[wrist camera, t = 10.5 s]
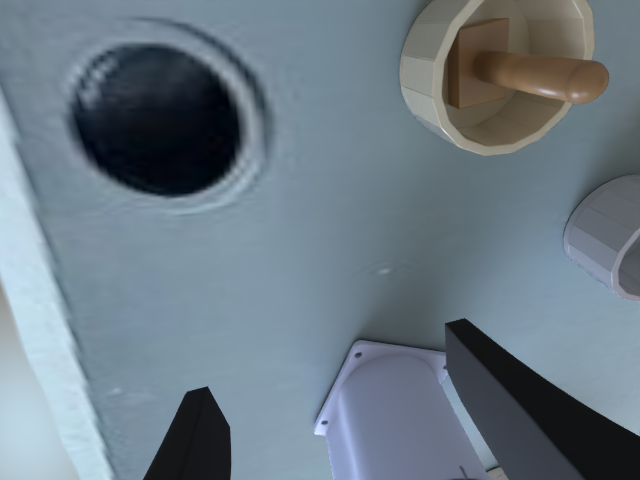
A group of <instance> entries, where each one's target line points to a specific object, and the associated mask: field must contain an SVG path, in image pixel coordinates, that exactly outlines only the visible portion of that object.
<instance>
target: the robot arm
mask: <svg viewBox="0 0 640 480" xmlns="http://www.w3.org/2000/svg"><path fill="white" fill-rule="evenodd" d="M445 343H446V352H440V351H433V350H426V349H419V348H412V347H406V346H399V345H392V344H385V343H378V342H371V341H365V340H359V341H357V342H355V343H354V344H353V346H352V348H351V350H350V352H349V354H348V356H347V359H346V361H345V363H344V365H343V367H342V369H341V371H340V373H339V375H338V377H337V379H336V381H335V383H334V385H333V387H332V389H331V392H330V394H329V396H328V398H327V400H326V402H325V404H324V406H323V408H322V410H321V412H320V414H319V416H318V418H317V420H316V423H315V425H314V427H313V429H314V433H315V434H317V435H326V440H327V445H328V451H329V456H330V462H331V468H332V473H333V479H334V480H495V479H493V478H491V479H490V478H489V476H488V474H487V472H486V470H485V469H484V467H483V465H482V463H481V461H480V459H479V457H478V455H477V453H476V451H475V449H474V448H473V446H472V444H471V442H470V440H469V438H468V436H467V434H466V432H465V430H464V428H463V427H462V425H461V423H460V421H459V419H458V417H457V415H456V413H455V411H454V409H453V407H452V406H451V404H450V402H449V400H448V398H447V396H446V394H445V392H444V390H443V388H442V386H441V384H442V382H443V381H444V379H445V378H446V376H447V375H448V374H449V376H450V378H451V381H452V383H453V385H454V387H455V389H456V391H457V393H458V395H459V398H460V400H461V402H462V403H463V405H464V407H465V408H466V410H467V412H468V414H469V415H470V417H471V419H472V420H473V422H474V424H475V425H476V427H477V429H478V430H479V432H480V433H481V435H482V437H483V438H484V440H485V442H486V443H487V445H488V447H489V448H490V450H491V452H492V453H493V455H494V457H495V458H496V460H497V461H498V463H499V465H500V466H501V468H502V470H503V471H504V473H505V475H506V476H507V478H508V480H640V436H638V435H636V434H634V433H633V432H631V431H629V430H627V429H625V428H624V427H622V426H620V425H618V424H616V423H615V422H613V421H611V420H609V419H608V418H606V417H604V416H603V415H601V414H599V413H598V412H596V411H594V410H592V409H591V408H589V407H588V406H586V405H584V404H583V403H581V402H579V401H578V400H576V399H575V398H573V397H572V396H570V395H568V394H567V393H565V392H564V391H562V390H561V389H559V388H558V387H556V386H555V385H553V384H552V383H550V382H549V381H547V380H546V379H545V378H543V377H542V376H540V375H539V374H537V373H536V372H535V371H533V370H532V369H530V368H529V367H528V366H526V365H525V364H524V363H522V362H521V361H519V360H518V359H517V358H515V357H514V356H513V355H511V354H510V353H509V352H507V351H506V350H505V349H503V348H502V347H501V346H500V345H498V344H497V343H496V342H494V341H493V340H492V339H491V338H489V337H488V336H487V335H486V334H484V333H483V332H482V331H481V330H479V329H478V328H477V327H476V326H474V325H473V324H472V323H471V322H470V321H468V320H467V319H465V318H464V319H460V320H456V321H452V322H449V323H445ZM357 352H359V353H357ZM230 477H231V439H230V426H229V424H228V423H227V421H226V419H225V417H224V415H223V414H222V412H221V410H220V408H219V406H218V404H217V403H216V401H215V399H214V397H213V395H212V393H211V392H210V390H209V388H208V386H207V387H203V388H199V389H196V390H192V391H188V392H187V393H186V394H185V396H184V398H183V400H182V402H181V404H180V406H179V408H178V411H177V413H176V415H175V417H174V419H173V421H172V423H171V425H170V427H169V430H168V432H167V434H166V436H165V438H164V440H163V442H162V444H161V446H160V448H159V450H158V452H157V454H156V456H155V458H154V460H153V461H152V463H151V465H150V467H149V469H148V471H147V473H146V475H145V477H144V479H143V480H230Z"/></svg>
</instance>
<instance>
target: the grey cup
mask: <svg viewBox="0 0 640 480" xmlns="http://www.w3.org/2000/svg"><path fill="white" fill-rule="evenodd" d="M563 246H564V250H565V253H566V255H567V256H568V258H569V259H570V260H571V261H573V262H574V263H575V264H577V266H578V267H579V268H581V269H582V270H584V271H585V272H586V273H588V274H589V275H590V276H592V277H593V278H594V279H596V280H597V281H598V282H600V283H601V284H602V285H604V286H605V287H607V288H608V289H609V290H611V291H612V292H613V293H615V294H616V295H617V296H619V297H620V298H622V299H626V300H630V301H635V302H640V175H626V176H622V177H619V178H615V179H613V180H611V181H609V182H607V183H605V184H603V185H601V186H600V187H598V188H597V189H595V190H594V191H593V192H592V193H590V194H589V195H588V196H587V197H586V198H585V199H584V200H583V201H582V202H581V203H580V204H579V205H578V207H577V208H576V209H575V211H574V212H573V214H572V215H571V217H570V219H569V221H568V223H567V225H566V228H565V232H564V237H563Z"/></svg>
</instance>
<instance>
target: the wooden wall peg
mask: <svg viewBox="0 0 640 480" xmlns="http://www.w3.org/2000/svg"><path fill="white" fill-rule="evenodd" d="M508 35H509V18H494V19H489V20H485V21H481V22H477V23H472V24H468V25H464V26H461V27H460V28H459V30H458V32H457V34H456V37H455V39H454V41H453V44H452V46H451V48H450V50H449V53H448V100H449V105H450V106H453V107H455V108H458V109H462V108H466V107H470V106H474V105H478V104H482V103H486V102H491V101H495V100H499V99H503V98H505V90H506V87H507V88H511V89H515V90H520V91H524V92H528V93H532V94H536V95H541V96H545V97H549V98H553V99H557V100H561V101H566V102H570V103H574V104H584V103H588V102H591V101H593V100H595V99H596V98H598V97H599V96H600V95H601V94H602V93H603V92H604V91H605V89H606V87H607V85H608V82H609V73H608V70H607V69H606V67H605V66H604V65H603V64H601V63H600V62H597V61H592V60H582V59H572V58H562V57H552V56H542V55H532V54H522V53H512V52H508Z"/></svg>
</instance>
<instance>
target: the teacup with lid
mask: <svg viewBox="0 0 640 480" xmlns="http://www.w3.org/2000/svg"><path fill="white" fill-rule="evenodd" d="M487 474H488V476H489V478H490V479H491V478H493V479H495V480H508V478H507V476H506V475H505V473H504V471H503V470H502V468H501V467H498V468H495V469H493V470H490V471H488V472H487Z"/></svg>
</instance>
